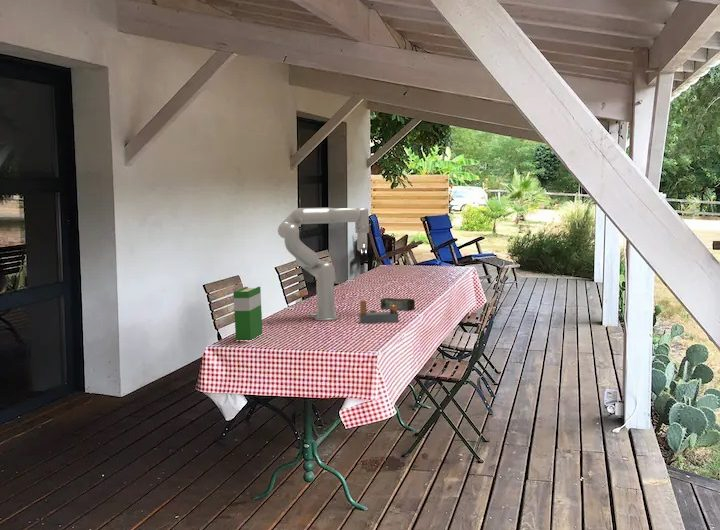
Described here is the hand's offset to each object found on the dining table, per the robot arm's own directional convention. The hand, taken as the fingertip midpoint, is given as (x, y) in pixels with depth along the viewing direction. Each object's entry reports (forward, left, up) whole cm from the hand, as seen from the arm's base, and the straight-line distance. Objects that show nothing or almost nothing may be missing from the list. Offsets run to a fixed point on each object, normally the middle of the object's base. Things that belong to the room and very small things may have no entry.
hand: (363, 260), depth 397 cm
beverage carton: (+20, +14, -31) cm, 39 cm away
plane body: (+5, -24, -30) cm, 39 cm away
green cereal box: (-61, -51, -31) cm, 85 cm away
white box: (+5, -12, -31) cm, 33 cm away
